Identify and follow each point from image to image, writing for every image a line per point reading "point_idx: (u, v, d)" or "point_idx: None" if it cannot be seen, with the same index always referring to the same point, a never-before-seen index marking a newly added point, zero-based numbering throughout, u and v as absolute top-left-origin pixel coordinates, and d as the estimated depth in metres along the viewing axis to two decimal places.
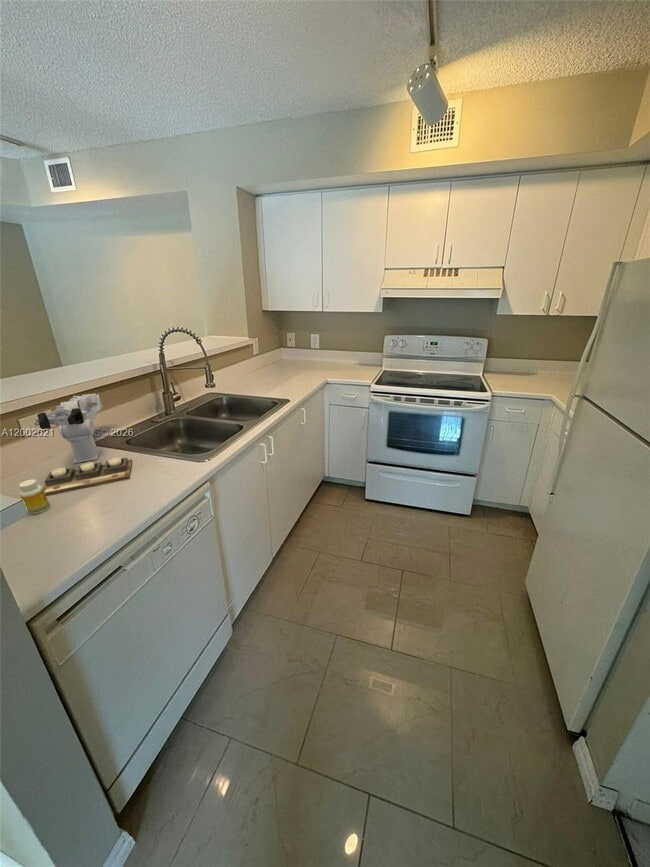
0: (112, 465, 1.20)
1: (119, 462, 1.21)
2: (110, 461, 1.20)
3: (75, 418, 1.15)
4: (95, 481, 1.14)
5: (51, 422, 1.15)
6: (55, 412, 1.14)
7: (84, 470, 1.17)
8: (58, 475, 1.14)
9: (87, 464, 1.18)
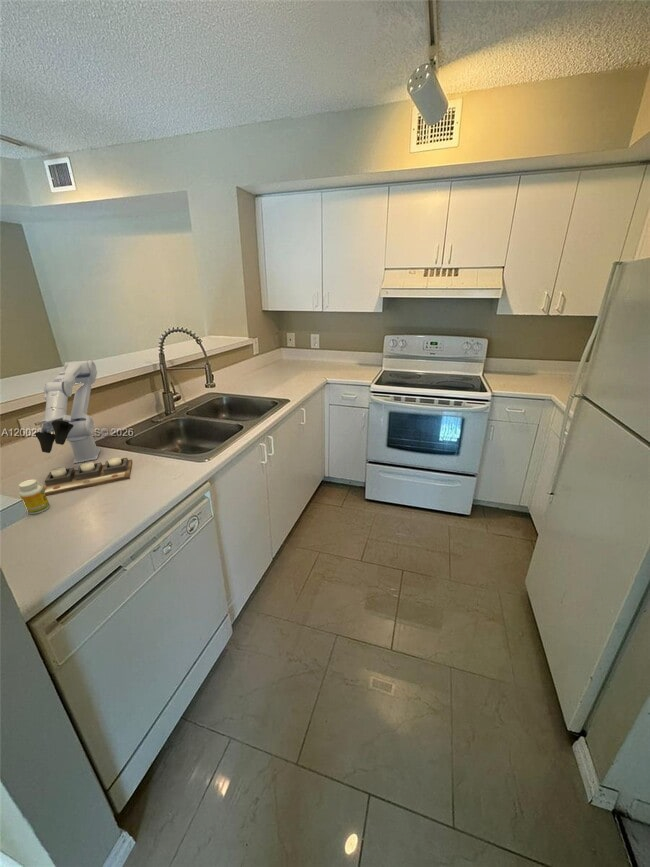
0: (112, 465, 1.20)
1: (119, 462, 1.21)
2: (110, 461, 1.20)
3: (63, 429, 1.10)
4: (95, 481, 1.14)
5: (52, 430, 1.15)
6: (45, 425, 1.11)
7: (84, 470, 1.17)
8: (58, 475, 1.14)
9: (87, 464, 1.18)
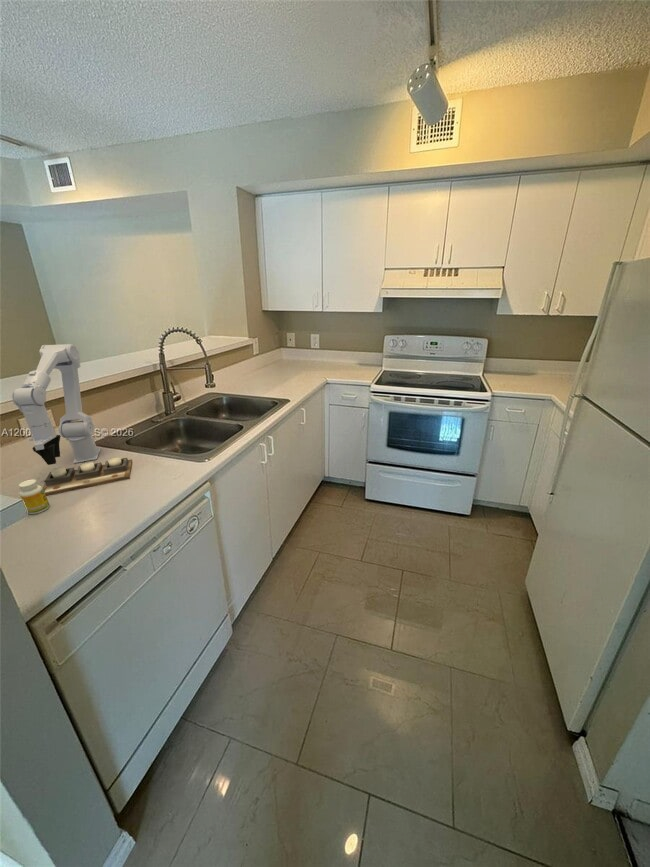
0: (112, 465, 1.20)
1: (119, 462, 1.21)
2: (110, 461, 1.20)
3: (47, 450, 1.09)
4: (95, 481, 1.14)
5: None
6: None
7: (84, 470, 1.17)
8: (58, 475, 1.14)
9: (87, 464, 1.18)
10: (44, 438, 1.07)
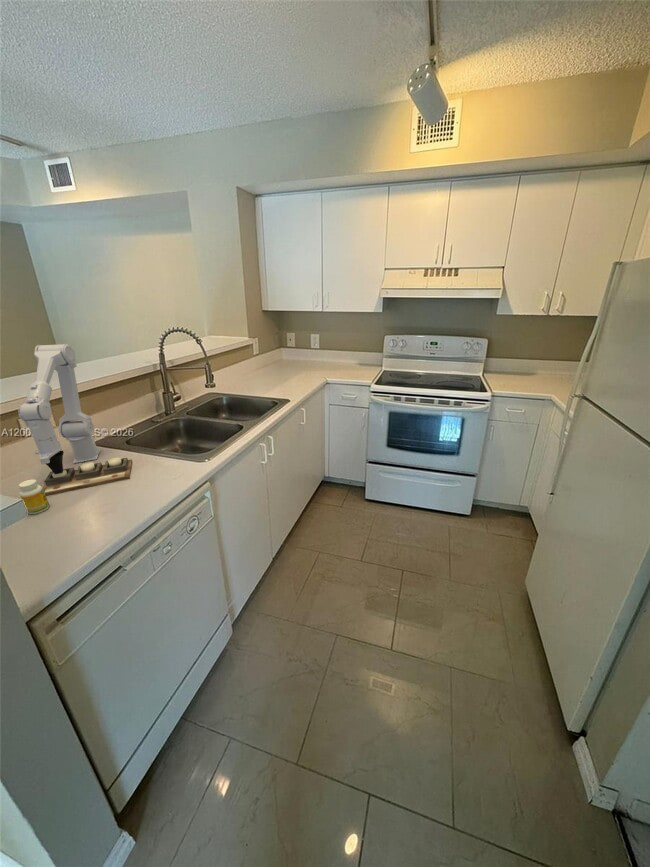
0: (112, 465, 1.20)
1: (119, 462, 1.21)
2: (110, 461, 1.20)
3: (54, 460, 1.13)
4: (95, 481, 1.14)
5: None
6: None
7: (84, 470, 1.17)
8: None
9: (87, 464, 1.18)
10: (49, 452, 1.09)
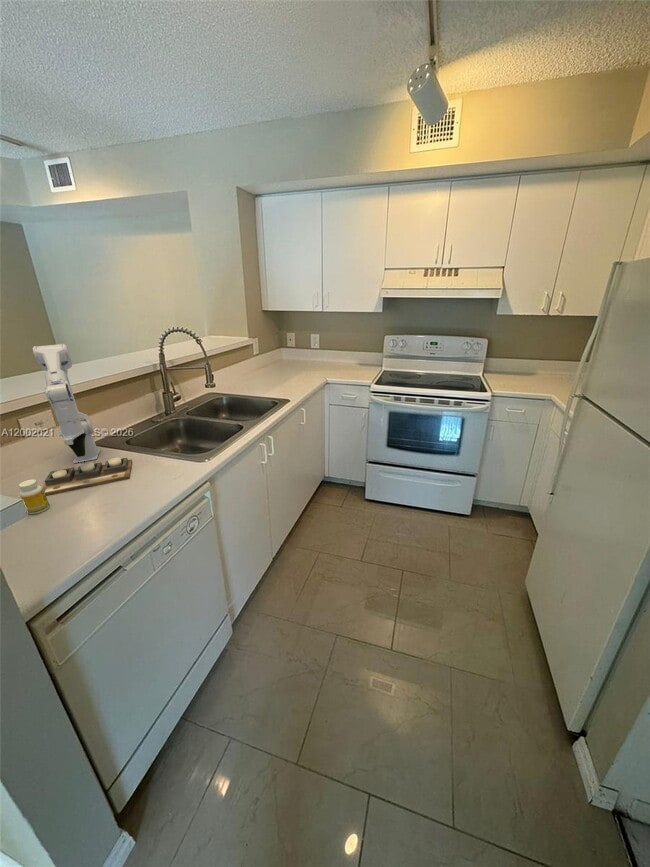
0: (112, 465, 1.20)
1: (119, 462, 1.21)
2: (110, 461, 1.20)
3: (77, 442, 1.13)
4: (95, 481, 1.14)
5: None
6: None
7: (84, 470, 1.17)
8: None
9: (87, 464, 1.18)
10: (73, 434, 1.10)
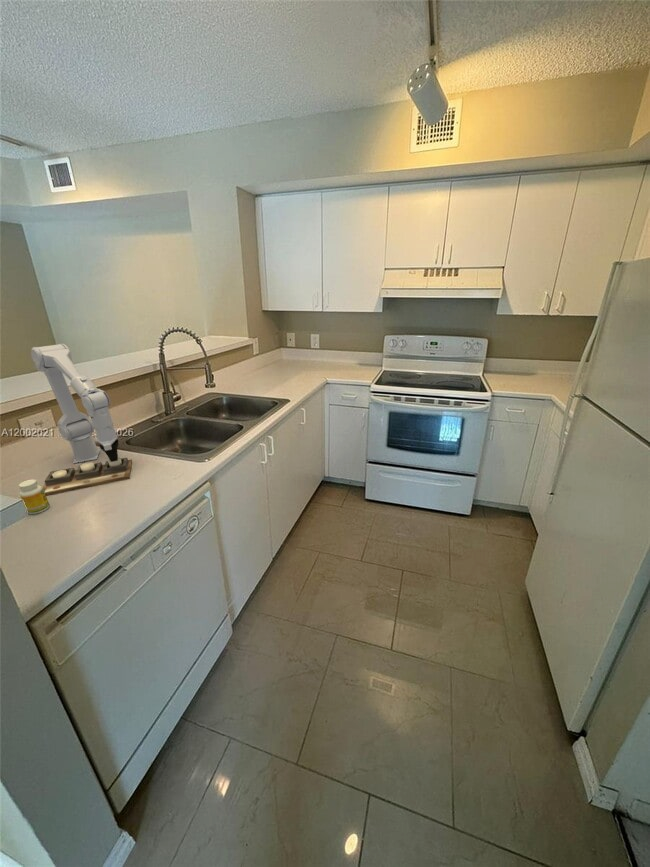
0: (112, 466, 1.20)
1: (119, 463, 1.21)
2: (110, 462, 1.20)
3: (111, 448, 1.19)
4: (95, 481, 1.14)
5: None
6: None
7: (84, 470, 1.17)
8: None
9: (87, 464, 1.18)
10: (109, 439, 1.16)
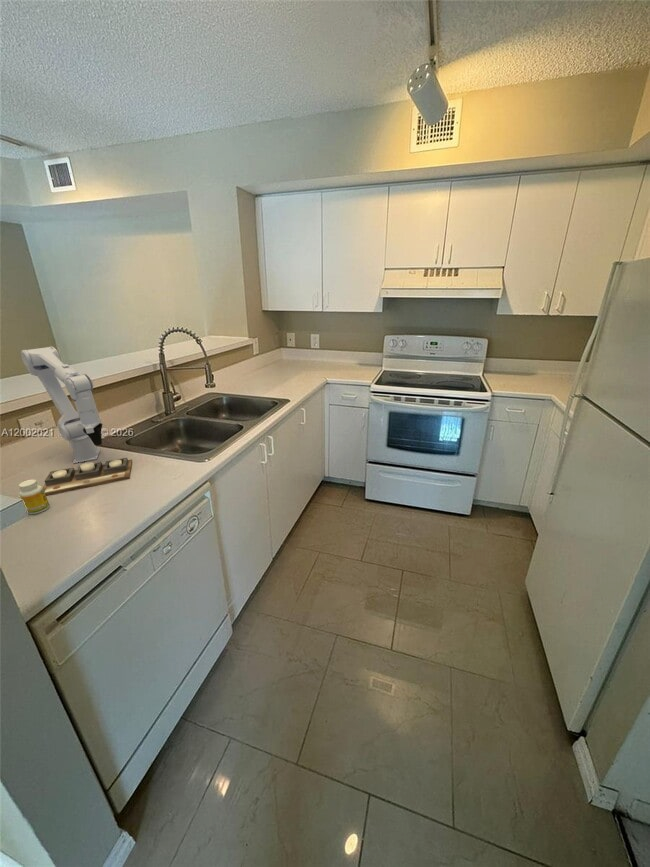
0: None
1: (120, 465, 1.22)
2: (111, 464, 1.20)
3: (95, 431, 1.19)
4: (95, 481, 1.14)
5: None
6: None
7: (84, 470, 1.17)
8: None
9: (87, 464, 1.18)
10: (92, 423, 1.16)
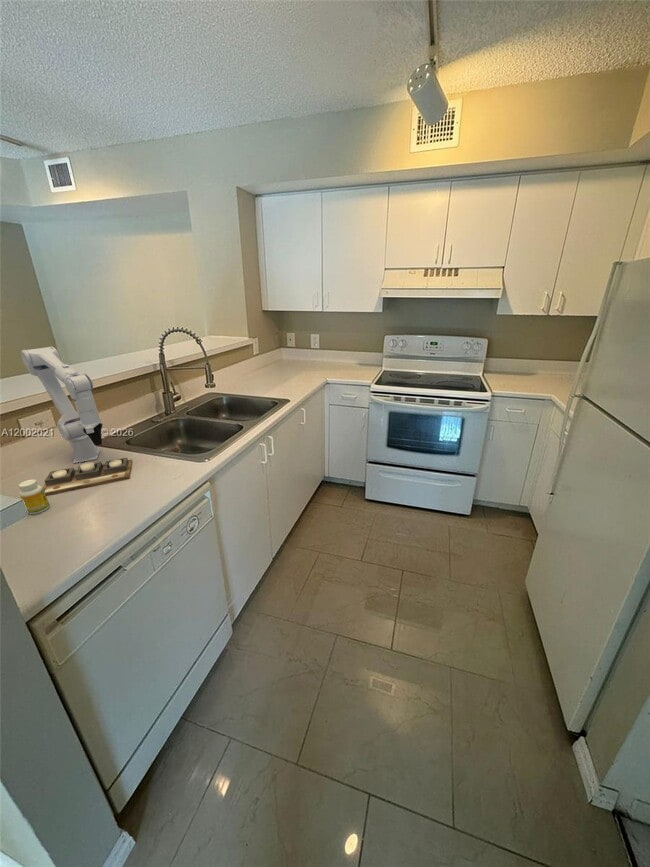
0: None
1: (120, 465, 1.22)
2: (111, 464, 1.20)
3: (95, 431, 1.19)
4: (95, 481, 1.14)
5: None
6: None
7: (84, 470, 1.17)
8: None
9: (87, 464, 1.18)
10: (92, 423, 1.16)
